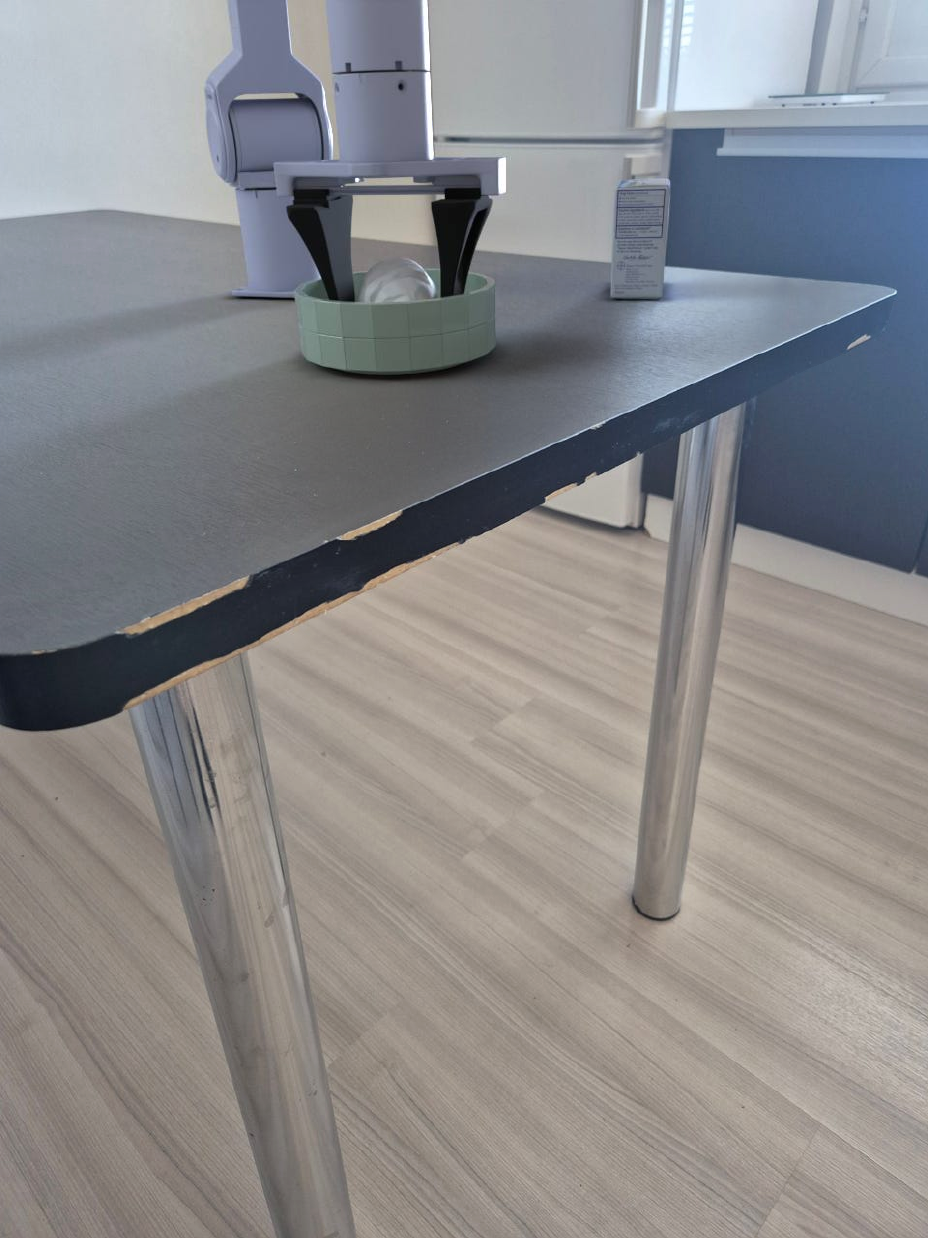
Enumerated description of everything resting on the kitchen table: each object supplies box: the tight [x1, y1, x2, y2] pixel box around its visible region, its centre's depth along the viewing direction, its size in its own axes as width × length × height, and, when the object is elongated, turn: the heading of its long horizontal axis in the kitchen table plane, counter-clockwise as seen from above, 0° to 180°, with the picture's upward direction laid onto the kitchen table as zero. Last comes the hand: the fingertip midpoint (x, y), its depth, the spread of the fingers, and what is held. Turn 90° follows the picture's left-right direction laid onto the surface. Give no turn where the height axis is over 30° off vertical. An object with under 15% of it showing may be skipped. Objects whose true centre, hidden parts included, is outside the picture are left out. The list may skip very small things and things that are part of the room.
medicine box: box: [610, 178, 671, 300], centre depth 72 cm, size 8×4×9 cm, turn 168°
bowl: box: [294, 267, 497, 376], centre depth 56 cm, size 13×13×4 cm
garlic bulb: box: [357, 257, 439, 303], centre depth 56 cm, size 6×6×5 cm
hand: (397, 316), depth 56 cm, fingers open, 7 cm apart
